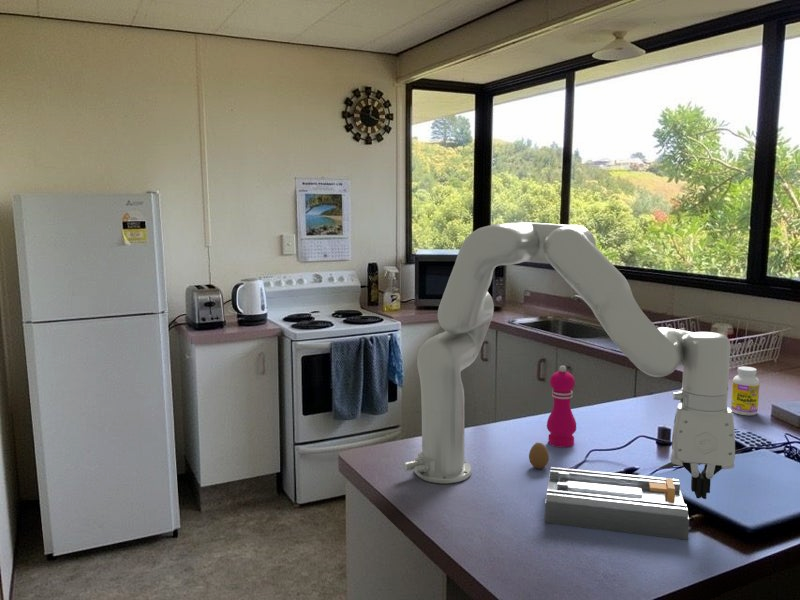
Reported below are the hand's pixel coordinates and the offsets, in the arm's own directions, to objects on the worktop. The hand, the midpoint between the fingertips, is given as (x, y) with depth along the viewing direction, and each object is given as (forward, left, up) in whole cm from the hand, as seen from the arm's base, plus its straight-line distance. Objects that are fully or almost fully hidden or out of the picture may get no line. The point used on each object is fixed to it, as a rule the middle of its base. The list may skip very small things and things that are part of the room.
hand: (700, 495), depth 119 cm
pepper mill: (+6, +44, -6) cm, 45 cm away
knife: (+22, +20, -6) cm, 30 cm away
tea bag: (+110, +91, -6) cm, 143 cm away
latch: (-5, +5, -1) cm, 7 cm away
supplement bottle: (+66, +35, -6) cm, 75 cm away
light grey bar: (-12, +13, -1) cm, 18 cm away
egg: (-9, +35, -6) cm, 36 cm away
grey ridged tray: (-11, +11, -6) cm, 16 cm away
